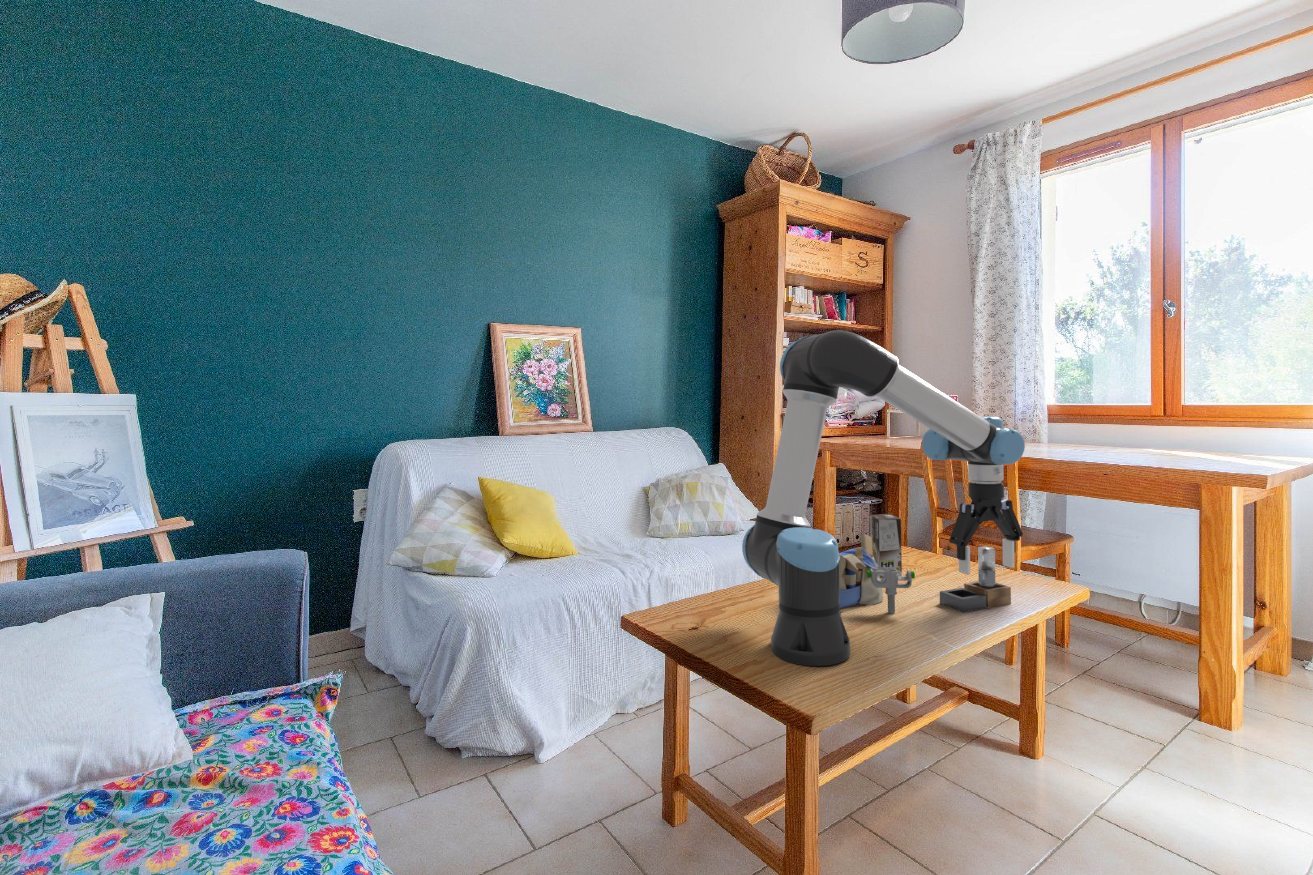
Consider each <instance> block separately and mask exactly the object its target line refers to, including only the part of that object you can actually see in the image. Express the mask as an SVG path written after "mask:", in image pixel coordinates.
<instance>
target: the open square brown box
mask: <svg viewBox="0 0 1313 875" xmlns="http://www.w3.org/2000/svg"><path fill="white" fill-rule="evenodd" d="M995 585H996V588H992V589H985V588H982V587H979V580H977V581H971V582H964V583H963V588H965V589H968V590H971V591H974V592H977V593H980V594H983V595H986V609H990V608H995V607H1000V606H1007V605H1011V604H1012V590H1011V588H1012V587H1011V586H1008V585H1006V584H1003V583H1002V584H1001V583H999V582H998V583H997V582H995Z"/></svg>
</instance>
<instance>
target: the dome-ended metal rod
mask: <svg viewBox="0 0 1313 875" xmlns="http://www.w3.org/2000/svg"><path fill="white" fill-rule="evenodd" d="M977 551H978V552H977V555H978V557H977V558H978V559H977V563H978V566H977V567H978V568H977V569H978V571H977V572H978V577H977V578H978V581H979V587H982V588H985V589H992V588H996V585H995V583H996V548H995V547H991V546H978V547H977Z"/></svg>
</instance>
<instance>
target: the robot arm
mask: <svg viewBox="0 0 1313 875" xmlns="http://www.w3.org/2000/svg"><path fill="white" fill-rule="evenodd" d="M779 371H780V376H781V377H782V379H783V381H784V383H783V389H782V393H783V395H784V397H785V398H786V400H787V402H786V403H787V404H786V408H785V413H784V418H783V421H782V422H783V423H782V427H781V432H780V437H779V441H778V442H779V443H778V446H777V451H776V456H775V461H774V467H773V471H772V475H771V479H770V484H769V490H768V496H767V499H766V503H765V504H766V505H765V506H764V508H763V509H760V511H758V512H756V513H757V514H756V517H755V521H754V525H752V526H751V527H750V528H749V529H747V531H746V533H745V534H744V536H743V539H742V545H741V550H742V552H741V553H742V555H743V560H744V561H745V563H746V564H747V566H748V568H750V570H751V571H753V572H754V573H755V574H756V575H757V576H759V577H761V578H762V579H765V580H767V581H769V582H771V583H773V584H774V585H776V586H777V587H778V609H779V610H778V614H777V616H776V621H775V623H774V624H775V625H774V627H773V631H772V634H771V639H770V651H771V652H772V654H774V656H775V657H777V658H778V659H780V660H782V661H785V662H787V663H790V664H795V665H801V666H810V667H811V666H812V667H821V666H822V667H825V666H832V665H837V664H840V663H842V662H843V663H844V661H846V660H848V659H849V657H850V656H851V642H850V641H851V640H850V638H849V635H848V633H847V630H846V627H845V625H844V622H843V619H842V615H841V613H840V611H841V608H840V592H839V561H840V556H839V553H840V552H839V545H838V541H837V539H836V538H835V536H833V535H832V534H831V533H829V532H826V531H824V530H822V529H819V528H817V529H814V528H812V527H811V524H810V522H809V521H808V519H807V517H806V512H807V507H808V503H809V498H810V493H811V489H812V483H813V479H814V474H815V470H816V463H817V459H818V454H819V450H820V445H821V440H822V437H823V436H822V435H823V430H824V426H825V421H826V416H827V413H828V412H827V411H828V408H829V407H830V406H832V405H834V404H835V403H837V399H838V394H839V389H840V388H844V389H849V390H853V391H857V392H859V393H861V394H863V395H864V396H866V397H868V398H874V397H877V398H879V399H881V400H882V401H883V402H886V403H887V404H889V405H891V406H892V407H894V408H895V409H897V410H898V411H900V412H901V413H903V414H905V415H907V416H908V417H909V418H912V419H913V420H915V421H917V422H918V423H920V424H922V425H923V426H925V427H926V428H928V430H927V431H925V432H924V434H923V437H922V440H921V443H922V444H921V447H922V451H923V453H924V455H925V456H926V457H927V458H928V459H930V460H932V461H948V460H950V461H951V460H952V461H953V460H954V461H961V462H962V461H963V462H967V463H968V464H967V470H968V471H967V472H968V473H967V478H968V480H969V482H968V486H967V487H968V497H969V498H970V500H971V501H970V504H968V503H963V502H962V503H960V504H959V509H958V510H959V511H958V515H957V518H956V520H955V523H954V526H953V529H952V532H951V534H950V537H949V538H948V542H949V544H953V545H955V546H956V558H957V560H958V573H961V574H964V575H967V576H968V575H971V546H968V544H969V543H970V542H971V539H972V538H973V536H974V535H975V533H976V531H977V530H978V528H979V526H980V525H982V524H983V523H984V522H986V523H987V522H989V521H992V522H994V524H995V525H996V527H997V528H998V529H999V531H1000V532H1001V533H1002V535H1003V536H1004V538H1002V540H1001V541H1002V566H1005V567H1008V568H1011V569H1015V567H1016V566H1015V565H1016V564H1015V558H1016V557H1015V553H1016V551H1017V550H1016V548H1017V547H1016V542H1017V541H1021V537H1023V535H1024V533H1023V531H1022V528H1021V526H1020V523H1019V520H1018V518H1017V516H1016V513H1015V511H1014V507H1013V500H1011V499H1006V498H1005V499H1003V498H1004V497H1005V484H1004V483H1003V482H1002V481H1004V480H1005V479H1004V478H1005V477H1004V465H1013V464H1015V463H1017V462H1018V461H1020V460H1021V459H1022V456H1023V455H1024V452H1025V447H1026V444H1025V439H1024V437H1023V435H1022V434H1021V433H1020V432H1019V431H1018V430H1015V429H1013V428H1007V427H1004V423H1003V422H1004V421H1003V419H1001V418H1000V417H998V416H980V415H978V414H977V413H975V412H974V411H972V410H971V409H969V408H967V407H966V406H965V405H963V404H961V403H959V402H958V401H957V400H955V399H954V398H952V397H950V396H949V395H947V393H945V392H943V391H940V389H937V388H936V387H934V386H933V385H932V384H930V383H929V382H927V381H925V380H924V379H922V378H920V377H919V376H918V375H917V374H915V373H913V372H911V371H909V370H908V369H907V368H905V367H903V366H901V365H900V363H899V358H898V357H897V356H896V355H895V354H893V353H891V352H889V351H888V350H887V349H885V348H884V347H882V346H881V345H878V344H877V343H875V342H873V341H871V340H870V339H868V338H866V337H864V336H862V335H859V334H857V333H854V332H851V331H849V330H848V331H847V330H841V329H840V330H838V329H837V330H831V331H826V332H824V333H819V334H816V335H815V334H813V335H807V336H803V337H801V338H799V339H798V340H795V341H794V342H792V343H791V344H790V345H789V346H787V347H786V349H785V350H784V352H783V353H782V355H781V359H780V362H779Z"/></svg>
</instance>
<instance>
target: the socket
mask: <svg viewBox="0 0 1313 875" xmlns="http://www.w3.org/2000/svg"><path fill="white" fill-rule="evenodd" d="M939 604H940V605H942V606H945V607H948V608H950V609H952V610H955V611H958V612H961V613H967V612H972V611H978V610H983V609H984V610H985V609H987V607H986V595H983V594H980V593H977V592H974V591H971V590H968V589H965V588H964V587H959V588H953V589H946V590H940V591H939Z"/></svg>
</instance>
